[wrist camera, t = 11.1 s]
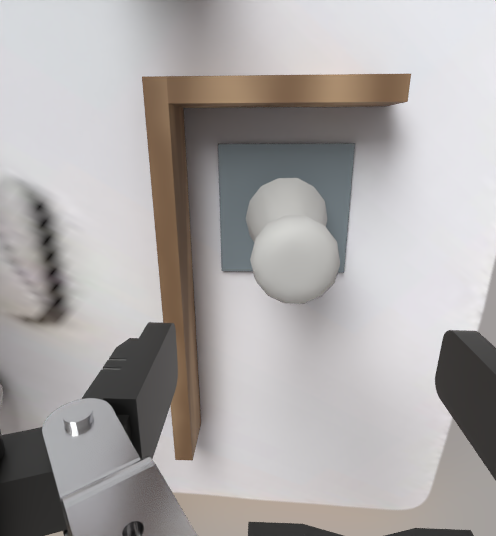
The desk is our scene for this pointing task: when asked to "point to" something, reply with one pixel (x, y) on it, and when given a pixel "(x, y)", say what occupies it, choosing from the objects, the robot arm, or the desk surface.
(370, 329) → the desk surface
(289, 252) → the salt shaker
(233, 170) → the pad
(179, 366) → the wooden l-shaped bracket
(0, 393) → the plastic bottle
